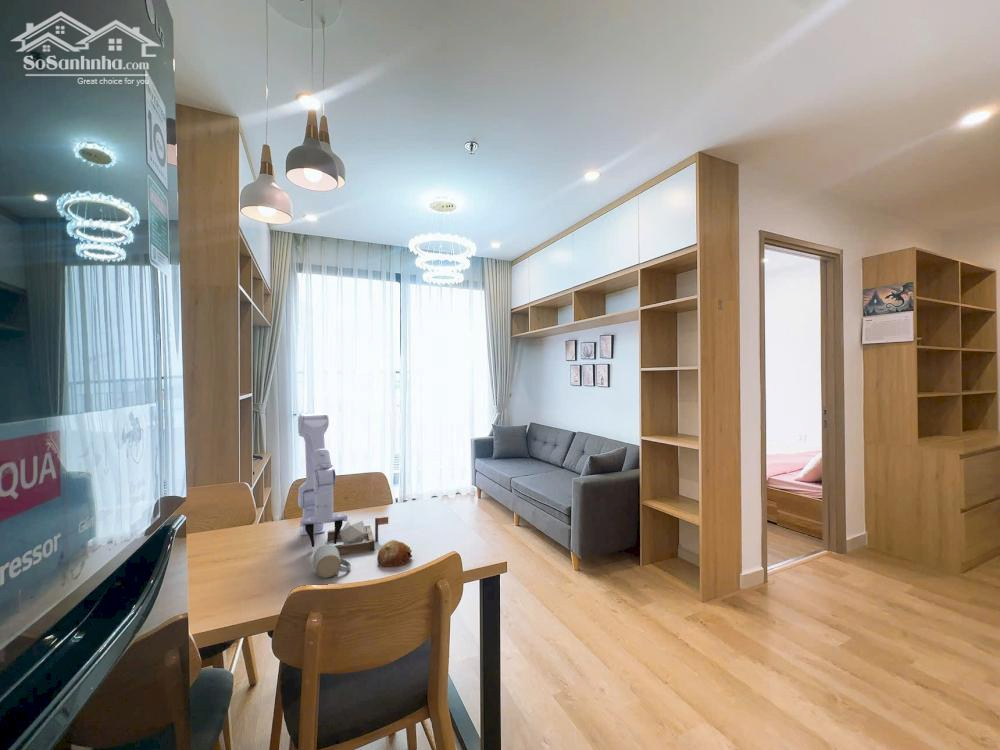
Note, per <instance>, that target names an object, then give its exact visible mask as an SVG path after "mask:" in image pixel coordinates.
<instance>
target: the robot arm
mask: <svg viewBox="0 0 1000 750" xmlns="http://www.w3.org/2000/svg"><path fill="white" fill-rule="evenodd" d="M297 418H298V419H297V427H298V428H297V430H298V432H297V433H298V436H299V437H302V438H303V440H304V444H305V445H304V447H305V448H304V449H305V476H306V477H305V479H306V480H305V481H304V482H303V483H302V484H301V485H299V487H298V492H297V503H298V507H299V508H300V509H302V518H301V519H299V520H300V525H299V527H300V528H301V529H300V530H301V531H300V536H308V538H309V539H310V543H311V548H315V534H322V533H326V532H325V531H326V529H325V528H326V525H325V524H327V523H328V524H329V523H330V524H331V523H334V530H335V533H334V540H333V545H336V544H337V542H338V540H337V537H338V534H339V531H340V529H342V528H343V522H347V521H348V513H336V514H335V513H334V485H335V484H336V482H337V479H336V477H337V475H336V470H335V469H336V468H334V465H333V464H332V462H331V456H330V451H329V450H328V449H326V447H325V434H326V432H327V430H328V428H329V424H330V423H329V421H330V420H329V416H328V414H327V413H326V412H324V413H323V412H322V413H309V414H308V413H307V414H302V413H301V414H299V416H298V417H297Z"/></svg>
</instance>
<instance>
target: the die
mask: <svg viewBox="0 0 1000 750" xmlns="http://www.w3.org/2000/svg"><path fill="white" fill-rule="evenodd" d="M365 526H366V525H365V524H364V521H363V520H347V521H346V523H345V525H344V526H342V528H341V529H342V530H341V532H340V533H339V534H340V536H341V539H340V540H341V541H342V542H343V543H342V544H350V543H356V542H363V541H364V540H365V538H367V537H366V535H367V531H366V528H365Z"/></svg>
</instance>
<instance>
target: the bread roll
mask: <svg viewBox="0 0 1000 750" xmlns="http://www.w3.org/2000/svg"><path fill="white" fill-rule="evenodd" d="M412 552H413V551H412V549H411V547H410V546H408V545H407V544H405V543H404V542H403V541H398V540H395V539H393V540H392V539H391V540H389V541H387V542H386V543H384V545H383V546H381V547H380V549H379V551H378V553H377V557H376V558H377V559H376V560H377V564H378V565H379V566H380V567H382V568H387V569H389V568H397V567H398V568H399V567H402V566H404V565H406V564H408V563H409V561H410V560H411V559H412V558H413V555H412Z"/></svg>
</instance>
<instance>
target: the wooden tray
mask: <svg viewBox="0 0 1000 750" xmlns="http://www.w3.org/2000/svg"><path fill="white" fill-rule="evenodd" d="M374 523H375V524H374V527H375V528H374V534H373V531H372V528H371V527H372V526H371V525H364V526H365V528H366V531H367V535H366V537H365V538H366V540H365V541H364V540H363V541H362V542H356V543H350V544H344V543H342V544H337V545H336V544H335V545H334V546H335V547H336V548H337V549H338V551H339V556H340V557H341V556H349V555H353V554H354V555H356V554H360V553H368V552H373V551H375V550H376V549H375V548H376V547H375V544H376V542H379V526H382V525H388V524H389V516H382V517H375V518H374ZM342 529H343V528H341V529H340V531H339V533H340V532H341V530H342ZM334 533H335V529H334V530H333V529H332V530H327V542H331V541H334ZM374 538H375V539H374ZM338 540H342V539H341V536H340V534H338V537H337V541H338Z"/></svg>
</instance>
